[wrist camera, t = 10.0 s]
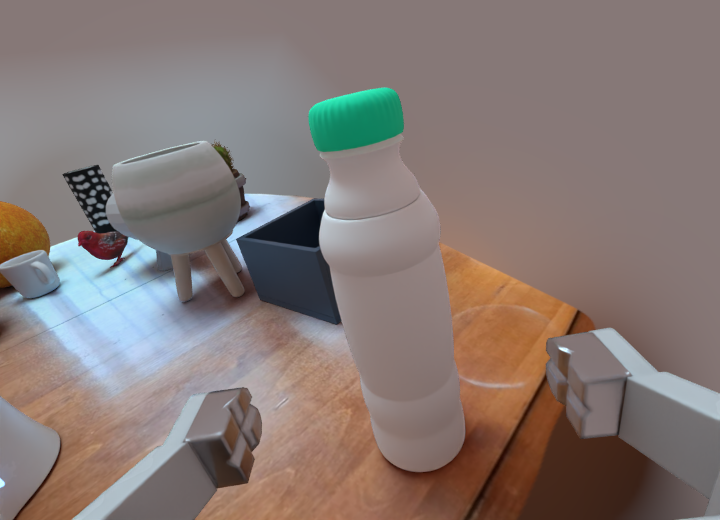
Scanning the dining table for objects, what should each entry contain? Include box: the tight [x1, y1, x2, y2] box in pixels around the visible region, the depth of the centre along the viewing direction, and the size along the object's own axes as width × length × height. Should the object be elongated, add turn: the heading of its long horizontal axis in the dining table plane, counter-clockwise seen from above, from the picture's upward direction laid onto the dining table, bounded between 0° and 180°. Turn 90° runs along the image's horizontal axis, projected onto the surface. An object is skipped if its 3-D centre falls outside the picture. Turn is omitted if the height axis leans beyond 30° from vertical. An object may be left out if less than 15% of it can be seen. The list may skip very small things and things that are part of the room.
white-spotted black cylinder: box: [63, 165, 119, 234], centre depth 100 cm, size 8×8×20 cm
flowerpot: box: [212, 144, 250, 221], centre depth 93 cm, size 14×15×20 cm
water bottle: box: [309, 88, 465, 472], centre depth 23 cm, size 7×7×25 cm
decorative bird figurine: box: [78, 231, 128, 268], centre depth 83 cm, size 3×18×10 cm, turn 177°
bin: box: [236, 198, 342, 324], centre depth 52 cm, size 16×16×10 cm
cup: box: [0, 250, 60, 298], centre depth 75 cm, size 11×8×8 cm
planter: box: [112, 141, 245, 302], centre depth 55 cm, size 16×16×22 cm
